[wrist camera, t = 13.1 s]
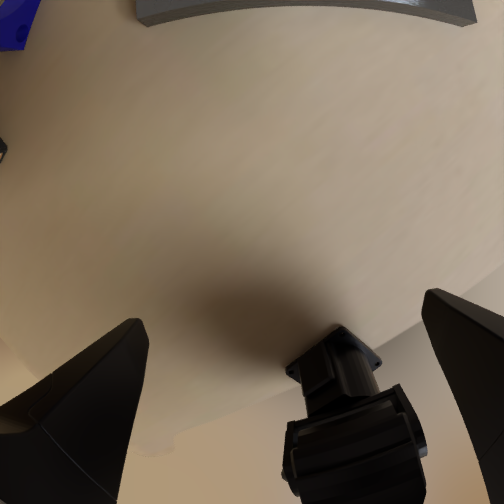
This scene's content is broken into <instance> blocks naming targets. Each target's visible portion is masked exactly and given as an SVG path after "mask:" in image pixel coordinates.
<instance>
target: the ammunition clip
mask: <svg viewBox="0 0 504 504" xmlns="http://www.w3.org/2000/svg"><path fill="white" fill-rule="evenodd" d="M6 151H7V146H6V144H5V143H4V142H3V140H2V139H1V138H0V163H1V161H2V159H3V157H4V155H5V153H6Z"/></svg>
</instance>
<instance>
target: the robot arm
mask: <svg viewBox="0 0 504 504" xmlns="http://www.w3.org/2000/svg"><path fill="white" fill-rule="evenodd" d="M421 315H422V319H423V322H424V325H425V327H426V330H427V332H428V335H429V338H430V340H431V344H432V347H433V349H434V352H435V355H436V357H437V359H438V362H439V364H440V366H441V368H442V370H443V372H444V375H445V377H446V379H447V381H448V384H449V386H450V388H451V391H452V393H453V395H454V398H455V400H456V403H457V405H458V407H459V410H460V412H461V415H462V417H463V420H464V423H465V425H466V428H467V430H468V433H469V436H470V439H471V441H472V444H473V447H474V450H475V453H476V456H477V459H478V461H479V465H480V469H481V472H482V475H483V479H484V482H485V485H486V489H487V492H488V496H489V500H490V504H504V317H503V316H501V315H498V314H496V313H494V312H492V311H490V310H487V309H485V308H483V307H481V306H478V305H476V304H474V303H472V302H469V301H467V300H464V299H462V298H460V297H458V296H455V295H453V294H451V293H448V292H446V291H444V290H441V289H439V288H434V289H428V290H427V291H426V292H425V296H424V301H423V306H422V311H421ZM342 332H344V333H343V334H340V333H342ZM148 349H149V339H148V336H147V333H146V330H145V327H144V325H143V322H142V320H141V319H139V318H129V319H127V320H125V321H124V322H122V323H121V324H120V325H118V326H117V327H115V328H114V329H112V330H111V331H110V332H108V333H107V334H105V335H104V336H103V337H101V338H100V339H98V340H97V341H95V342H94V343H93V344H91V345H90V346H88V347H87V348H86V349H84V350H83V351H81V352H80V353H79V354H77V355H76V356H74V357H73V358H72V359H70V360H69V361H67V362H66V363H65V364H63V365H62V366H60V367H59V368H58V369H56V370H55V371H53V373H50V374H49V375H48V376H46V377H45V378H44V379H42V380H41V381H39V382H38V383H36V384H35V385H34V386H32V387H31V388H29V389H27V390H26V391H24V392H23V393H21V394H20V395H18V396H16V397H15V398H13V399H11V400H10V401H8V402H7V403H5V404H3V405H2V406H0V504H117V501H116V500H117V498H118V493H119V487H120V483H121V478H122V473H123V467H124V463H125V458H126V454H127V449H128V445H129V440H130V436H131V432H132V428H133V423H134V419H135V415H136V411H137V407H138V403H139V399H140V395H141V392H142V387H143V382H144V376H145V369H146V362H147V356H148ZM381 364H382V360H381V358H380V357H379V356H377V355H376V354H375V353H374V352H373V351H372V350H371V349H369V348H368V347H367V346H366V345H365V344H364V343H362V342H361V341H360V340H359V339H358V338H357V337H356V336H354V335H353V334H352V333H351V332H350V331H349V330H347V329H346V328H345V327H339V328H337V329H336V330H335V331H334V332H332V333H331V334H330V335H329V336H327V337H326V338H325V339H323V340H322V341H321V342H319V343H318V344H317V345H316V346H314V347H313V348H312V349H310V350H309V351H308V352H306V353H305V354H304V355H302V356H301V357H299V358H298V359H297V360H295V361H294V362H293V363H291V364H290V365H288V366H287V367H286V369H285V371H286V375H288V376H289V377H291V378H292V379H294V380H295V381H297V382H299V383H300V384H301V387H302V394H303V396H304V397H305V404H306V410H307V417H308V418H305V419H301V420H298V421H295V420H294V421H290V422H287V431H286V433H285V445H284V455H283V464H282V466H283V469H282V472H281V475H282V478H283V479H284V480H285V481H287V482H288V484H289V486H290V489H291V491H292V492H293V494H294V495H295V496H297V497H299V496H300V499H301V502H302V504H423V503H424V499H425V496H426V480H425V476H424V472H423V468H422V464H421V460H420V458H422V457H424V456H427V444H426V440H425V436H424V433H423V429H422V427H421V424H420V421H419V419H418V417H417V414H416V413H415V411H414V409H413V407H412V405H411V403H410V402H409V400H408V398H407V397H406V395H405V393H404V391H403V389H402V388H401V386H400V384H397V385H394V386H393V387H392V388H390V389H388V390H385V391H383V392H380V390H379V387H378V385H377V382H376V380H375V377H374V374H373V371H374V370H376V369H377V368H378V367H380V366H381ZM290 370H293V371H290Z"/></svg>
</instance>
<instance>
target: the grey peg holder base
mask: <svg viewBox="0 0 504 504" xmlns="http://www.w3.org/2000/svg"><path fill="white" fill-rule="evenodd" d="M276 6H337V7H353V8H364V9H374V10H382V11H389V12H396V13H402V14H408V15H413V16H419V17H424V18H428V19H433V20H437V21H441V22H445V23H449V24H453V25H457V26H460V27H464V26H467V25H471V24H474V23H477V19H476V15H475V10H474V6H473V3H472V0H136V14H137V20H139V21H140V22H141V23H143V24H144V25H145V26H147V27H149V26H153V25H157V24H161V23H165V22H169V21H174V20H178V19H183V18H188V17H193V16H198V15H204V14H210V13H217V12H224V11H231V10H240V9H249V8H261V7H276Z"/></svg>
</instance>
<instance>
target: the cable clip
mask: <svg viewBox="0 0 504 504" xmlns="http://www.w3.org/2000/svg"><path fill="white" fill-rule="evenodd" d="M40 1H41V0H5V1H4V2H3V4H2V5H1V6H0V51H15V50H24V47H25V44H26V41H27V37H28V34H29V31H30V28H31V25H32V22H33V20H34V17H35V14H36V11H37V9H38V6H39V4H40Z"/></svg>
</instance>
